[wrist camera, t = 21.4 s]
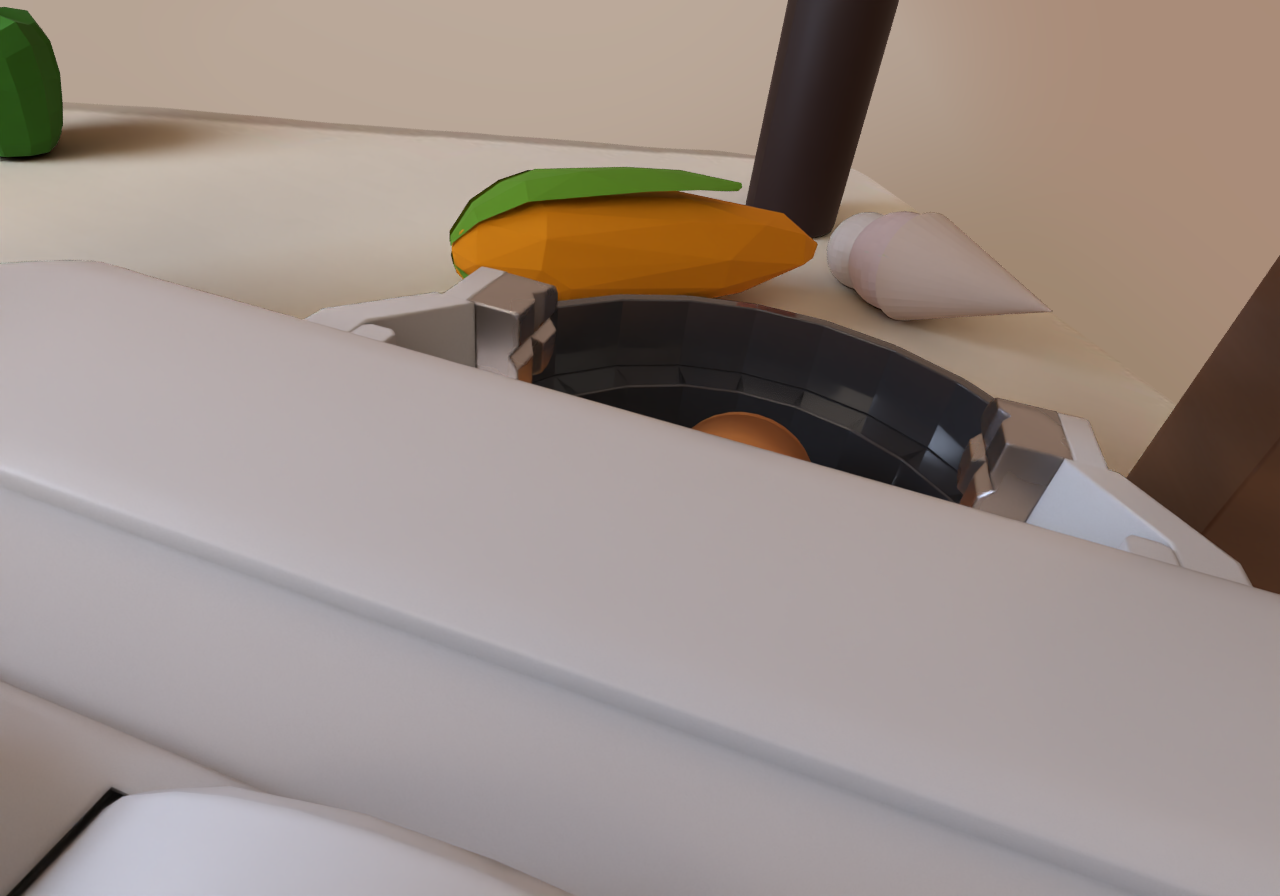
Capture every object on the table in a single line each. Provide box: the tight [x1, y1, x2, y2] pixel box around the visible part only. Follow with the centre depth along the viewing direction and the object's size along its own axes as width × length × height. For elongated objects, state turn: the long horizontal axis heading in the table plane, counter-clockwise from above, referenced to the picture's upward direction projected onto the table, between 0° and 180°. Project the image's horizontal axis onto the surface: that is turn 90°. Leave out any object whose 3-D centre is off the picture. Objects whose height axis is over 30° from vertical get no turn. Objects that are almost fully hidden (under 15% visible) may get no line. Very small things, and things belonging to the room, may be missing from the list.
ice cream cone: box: [827, 211, 1053, 321], centre depth 39 cm, size 6×6×15 cm
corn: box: [450, 167, 817, 301], centre depth 36 cm, size 7×8×20 cm
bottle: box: [746, 0, 899, 237], centre depth 47 cm, size 7×7×20 cm
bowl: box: [532, 294, 994, 504], centre depth 20 cm, size 20×20×6 cm
